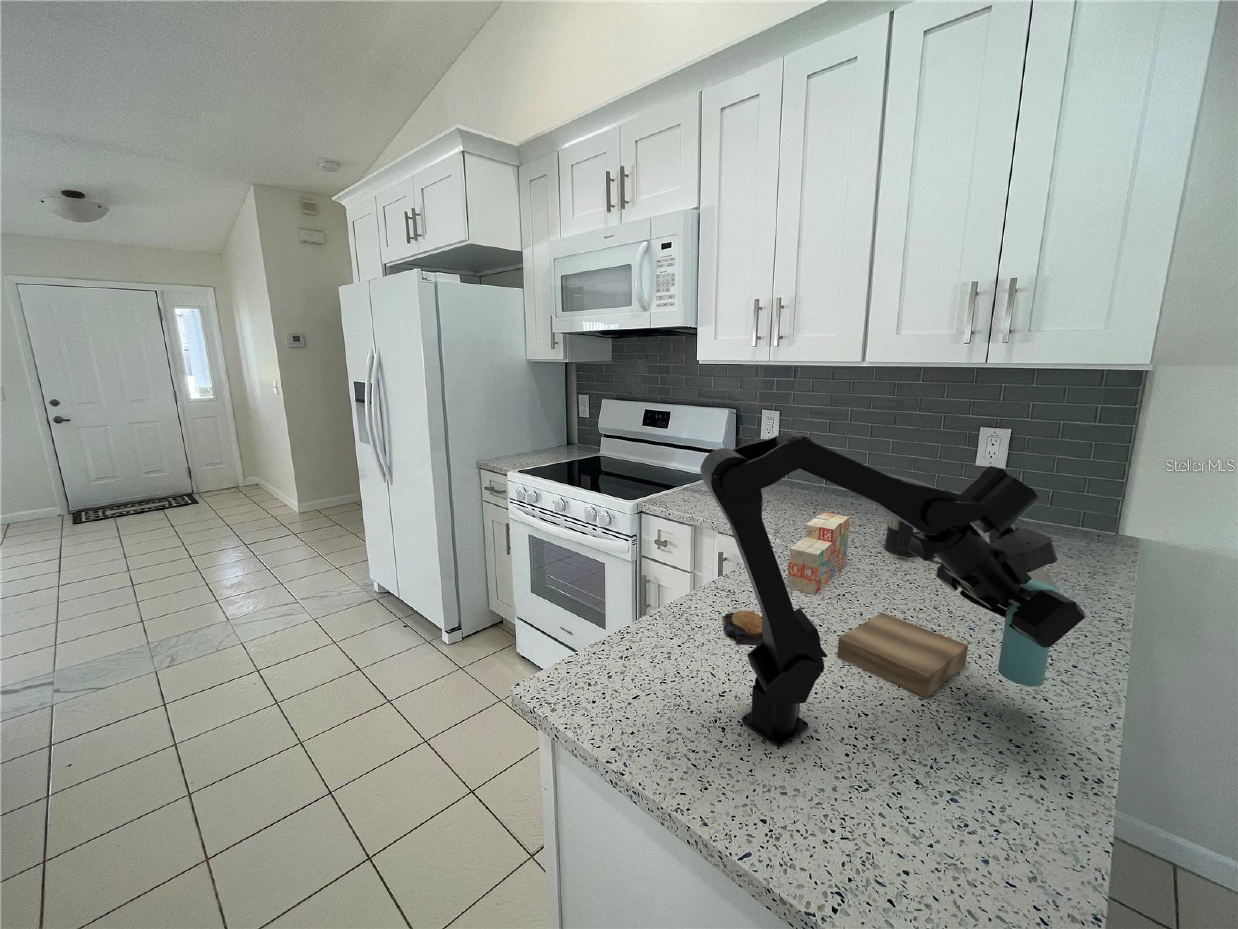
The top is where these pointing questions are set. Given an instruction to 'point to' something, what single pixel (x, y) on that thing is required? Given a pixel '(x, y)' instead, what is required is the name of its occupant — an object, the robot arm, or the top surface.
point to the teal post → (1023, 649)
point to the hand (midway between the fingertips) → (1037, 630)
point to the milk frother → (899, 536)
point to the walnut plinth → (903, 653)
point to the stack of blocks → (819, 553)
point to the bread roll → (743, 627)
